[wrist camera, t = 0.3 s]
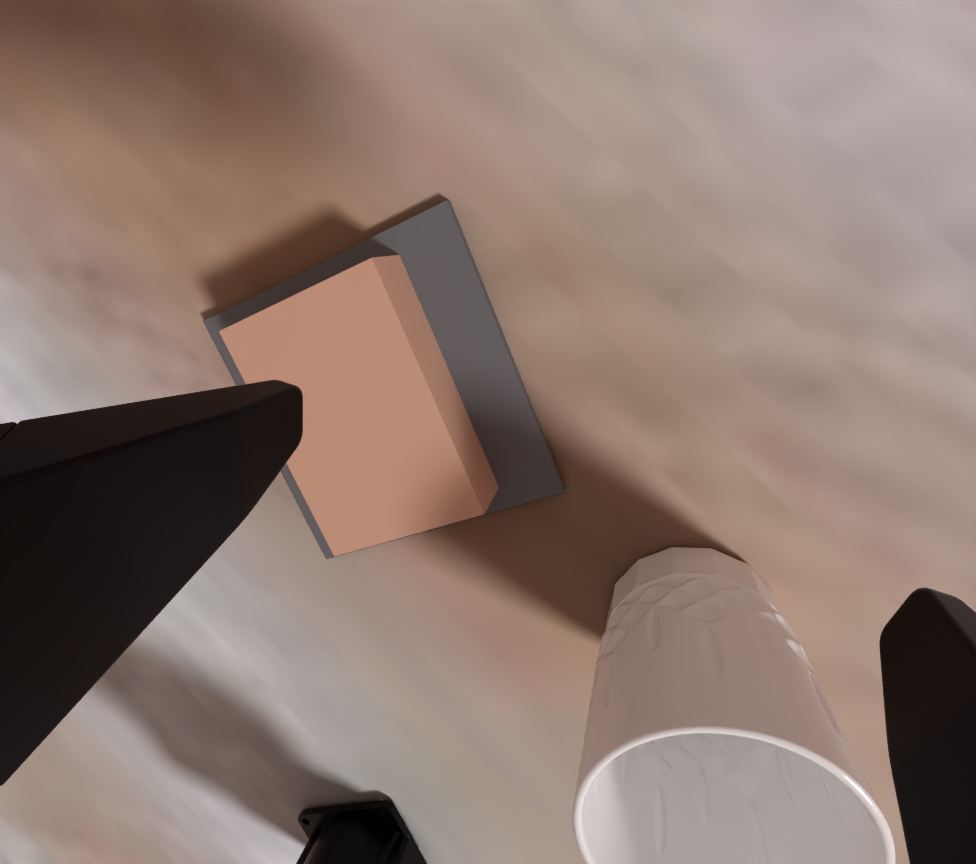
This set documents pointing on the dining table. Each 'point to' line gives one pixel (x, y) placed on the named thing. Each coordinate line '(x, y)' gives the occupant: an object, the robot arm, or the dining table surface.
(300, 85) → the dining table surface
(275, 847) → the dining table surface
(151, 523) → the robot arm
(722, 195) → the dining table surface
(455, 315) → the rubber mat
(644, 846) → the white cup
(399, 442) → the terracotta tile
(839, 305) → the dining table surface
